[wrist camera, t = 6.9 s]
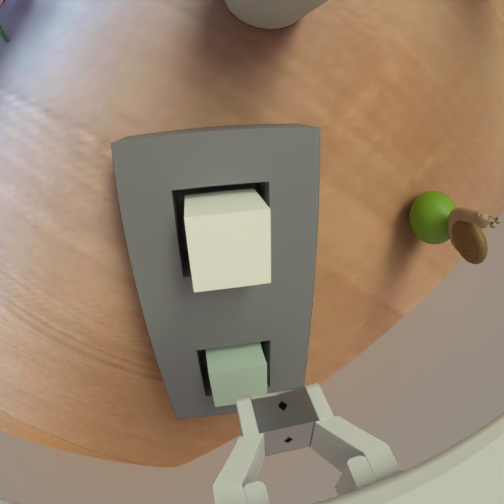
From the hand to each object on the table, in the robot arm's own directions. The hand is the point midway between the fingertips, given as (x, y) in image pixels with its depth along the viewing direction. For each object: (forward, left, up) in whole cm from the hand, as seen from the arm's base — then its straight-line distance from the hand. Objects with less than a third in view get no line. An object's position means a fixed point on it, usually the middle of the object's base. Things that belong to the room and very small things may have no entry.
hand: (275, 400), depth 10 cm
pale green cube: (0, +13, -17) cm, 21 cm away
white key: (0, -1, -15) cm, 15 cm away
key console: (0, +6, -19) cm, 20 cm away
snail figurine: (-21, 0, -19) cm, 28 cm away
